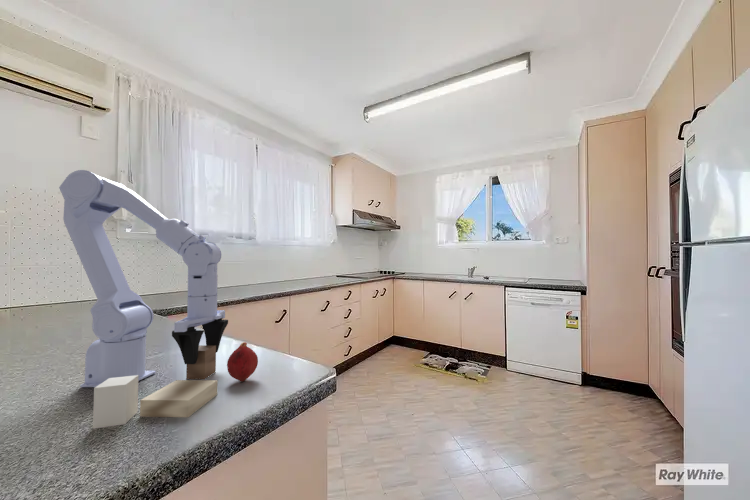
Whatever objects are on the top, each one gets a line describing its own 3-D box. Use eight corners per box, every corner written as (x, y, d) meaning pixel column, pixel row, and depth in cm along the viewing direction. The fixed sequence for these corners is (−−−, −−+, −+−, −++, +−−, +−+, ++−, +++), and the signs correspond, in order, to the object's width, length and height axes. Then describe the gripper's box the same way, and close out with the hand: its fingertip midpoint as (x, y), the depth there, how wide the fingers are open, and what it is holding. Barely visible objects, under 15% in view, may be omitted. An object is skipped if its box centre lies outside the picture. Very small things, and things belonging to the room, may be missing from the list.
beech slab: (139, 419, 47) (140, 400, 47) (175, 396, 55) (176, 380, 55) (188, 419, 47) (188, 400, 47) (217, 396, 55) (217, 380, 55)
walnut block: (186, 379, 62) (186, 350, 62) (198, 372, 66) (198, 345, 66) (204, 379, 62) (204, 350, 62) (215, 372, 66) (216, 345, 66)
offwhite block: (92, 428, 44) (94, 388, 44) (108, 415, 47) (109, 378, 48) (125, 424, 45) (126, 384, 45) (137, 411, 49) (138, 375, 49)
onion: (245, 388, 57) (246, 347, 57) (220, 386, 58) (220, 345, 59) (263, 377, 63) (263, 339, 63) (239, 375, 64) (239, 338, 64)
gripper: (199, 299, 57) (198, 369, 57) (237, 292, 72) (236, 347, 71) (164, 300, 58) (163, 369, 57) (209, 292, 72) (208, 347, 71)
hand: (202, 357), depth 64 cm, fingers open, 7 cm apart
